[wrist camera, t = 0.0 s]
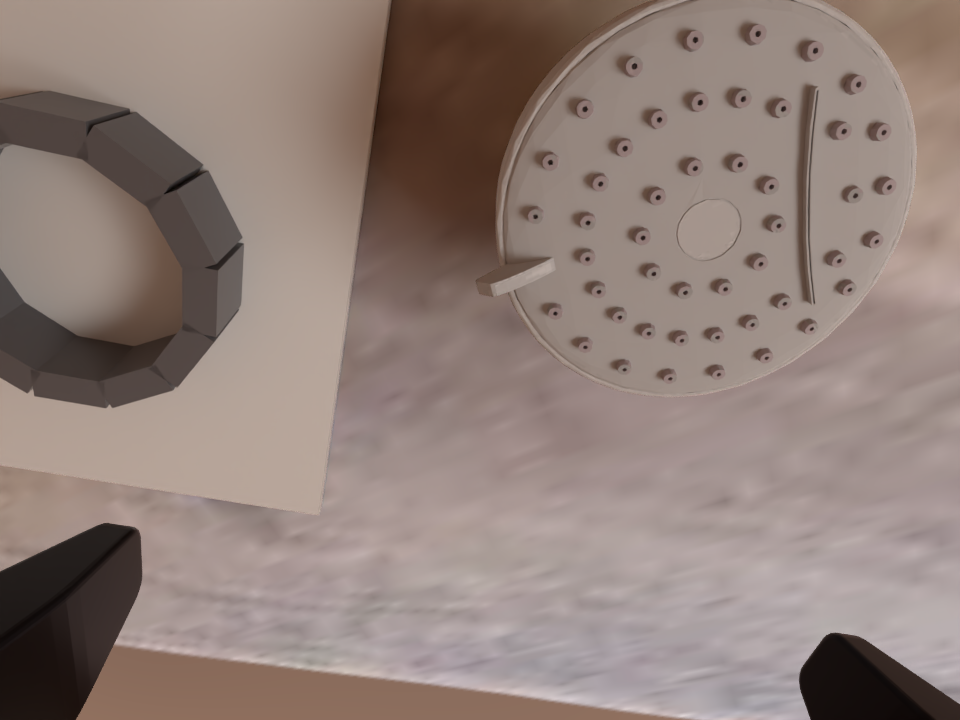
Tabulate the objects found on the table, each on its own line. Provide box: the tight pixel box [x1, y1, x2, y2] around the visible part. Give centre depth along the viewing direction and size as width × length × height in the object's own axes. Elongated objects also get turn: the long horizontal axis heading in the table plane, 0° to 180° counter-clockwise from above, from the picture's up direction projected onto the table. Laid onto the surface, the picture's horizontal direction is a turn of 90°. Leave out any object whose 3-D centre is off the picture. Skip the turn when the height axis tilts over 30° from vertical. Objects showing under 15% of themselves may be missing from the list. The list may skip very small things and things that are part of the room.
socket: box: [0, 0, 392, 515], centre depth 19 cm, size 20×16×3 cm
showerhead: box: [476, 0, 917, 397], centre depth 17 cm, size 9×7×10 cm
